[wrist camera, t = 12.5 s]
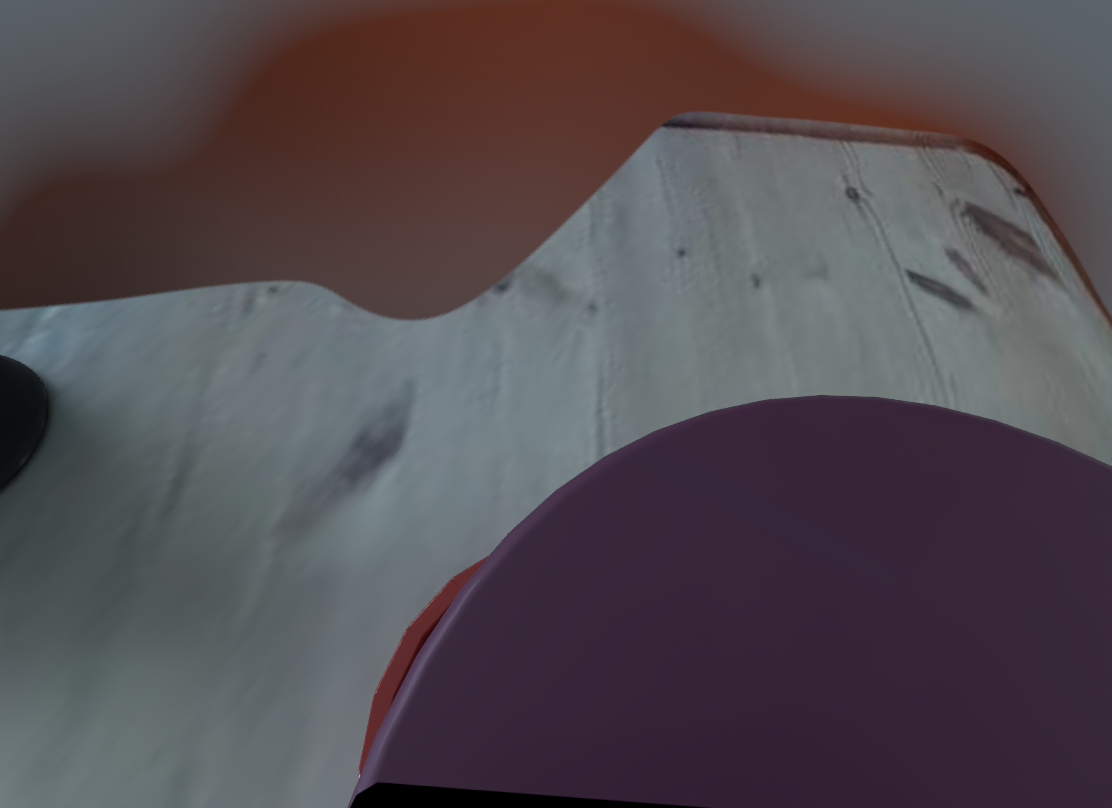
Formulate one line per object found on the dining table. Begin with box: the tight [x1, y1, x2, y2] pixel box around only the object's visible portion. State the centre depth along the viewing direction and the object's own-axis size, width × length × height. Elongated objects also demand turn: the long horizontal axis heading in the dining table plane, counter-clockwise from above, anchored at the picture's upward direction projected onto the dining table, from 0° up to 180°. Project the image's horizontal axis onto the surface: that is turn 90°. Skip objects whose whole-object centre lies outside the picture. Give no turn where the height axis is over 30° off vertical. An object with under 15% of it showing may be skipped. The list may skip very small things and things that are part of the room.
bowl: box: [358, 556, 489, 778], centre depth 17 cm, size 12×12×4 cm
